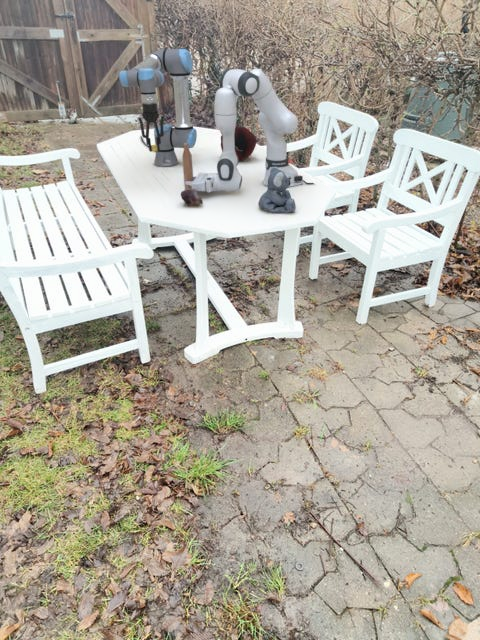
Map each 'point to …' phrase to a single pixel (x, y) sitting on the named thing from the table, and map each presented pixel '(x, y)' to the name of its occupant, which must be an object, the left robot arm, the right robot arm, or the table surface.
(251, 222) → the table surface
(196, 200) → the rock
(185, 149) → the bottle
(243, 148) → the decorative skull
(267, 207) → the koala plush
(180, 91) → the left robot arm
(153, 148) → the cap
